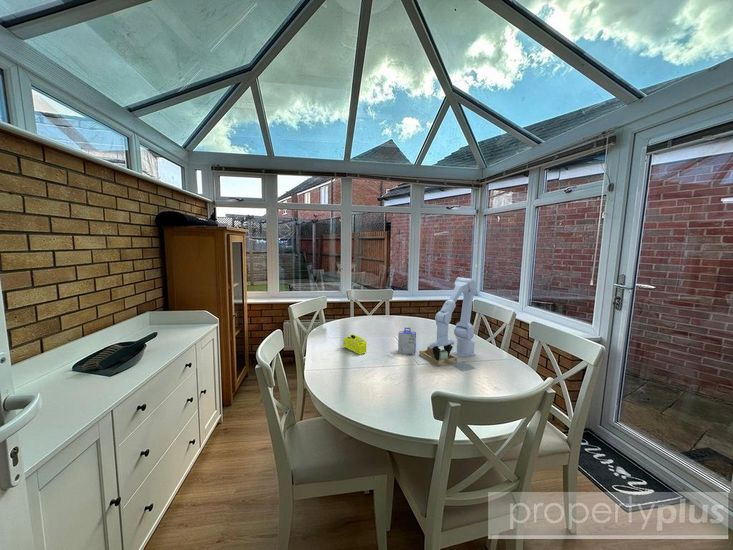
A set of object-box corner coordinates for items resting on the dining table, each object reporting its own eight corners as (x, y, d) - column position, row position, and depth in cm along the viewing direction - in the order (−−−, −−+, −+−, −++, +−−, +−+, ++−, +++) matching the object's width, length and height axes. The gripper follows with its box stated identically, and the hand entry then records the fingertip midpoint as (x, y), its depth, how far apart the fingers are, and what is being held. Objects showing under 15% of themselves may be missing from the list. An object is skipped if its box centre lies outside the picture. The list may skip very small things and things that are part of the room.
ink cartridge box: (415, 351, 175) (416, 327, 174) (415, 355, 170) (415, 330, 169) (399, 350, 178) (399, 326, 176) (397, 353, 173) (398, 329, 171)
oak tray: (437, 352, 174) (437, 347, 174) (456, 363, 159) (457, 358, 158) (419, 356, 169) (419, 350, 169) (437, 367, 154) (437, 361, 153)
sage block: (442, 358, 163) (442, 349, 163) (447, 361, 159) (447, 351, 159) (435, 360, 162) (435, 350, 161) (440, 363, 158) (441, 353, 157)
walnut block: (433, 353, 171) (434, 345, 170) (439, 357, 166) (439, 348, 165) (427, 355, 169) (427, 346, 168) (432, 358, 164) (432, 349, 164)
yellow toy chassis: (366, 353, 173) (367, 339, 172) (359, 355, 170) (359, 341, 169) (350, 345, 185) (350, 332, 185) (343, 347, 182) (343, 334, 181)
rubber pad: (464, 362, 160) (464, 361, 160) (476, 369, 152) (476, 368, 151) (450, 365, 156) (450, 364, 156) (462, 372, 148) (462, 371, 148)
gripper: (448, 330, 165) (447, 354, 167) (426, 333, 160) (425, 358, 161) (457, 334, 159) (456, 359, 160) (434, 337, 153) (433, 363, 155)
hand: (441, 359), depth 160 cm, fingers open, 5 cm apart
